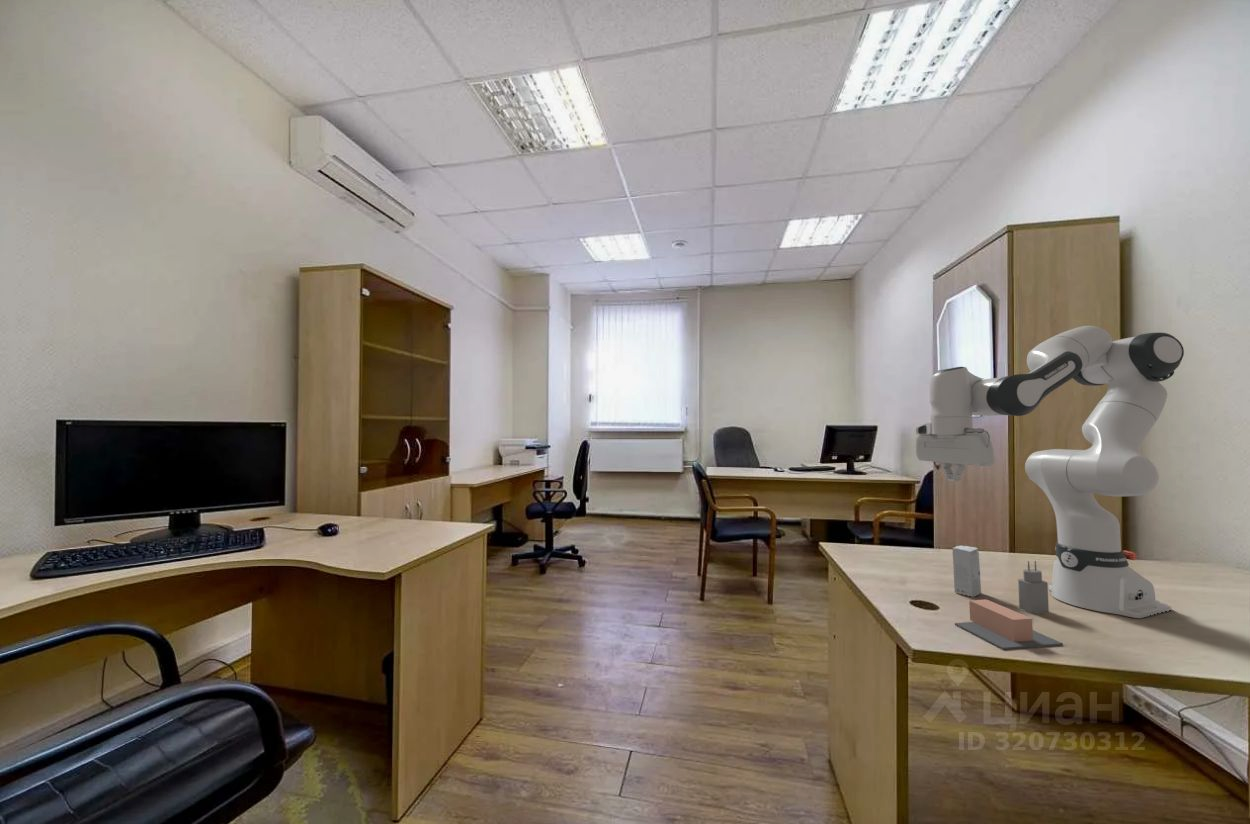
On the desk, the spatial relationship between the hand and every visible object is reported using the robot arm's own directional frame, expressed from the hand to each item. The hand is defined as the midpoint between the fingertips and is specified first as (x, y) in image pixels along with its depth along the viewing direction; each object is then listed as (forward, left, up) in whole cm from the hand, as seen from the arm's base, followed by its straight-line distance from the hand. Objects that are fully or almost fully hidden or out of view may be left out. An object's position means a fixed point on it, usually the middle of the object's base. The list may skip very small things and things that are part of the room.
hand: (953, 480), depth 112 cm
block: (+6, +12, -28) cm, 31 cm away
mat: (+6, +18, -31) cm, 36 cm away
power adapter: (-13, +8, -31) cm, 35 cm away
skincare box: (-7, -4, -31) cm, 32 cm away
